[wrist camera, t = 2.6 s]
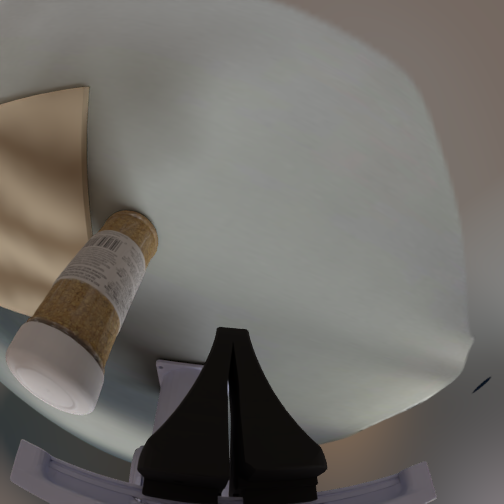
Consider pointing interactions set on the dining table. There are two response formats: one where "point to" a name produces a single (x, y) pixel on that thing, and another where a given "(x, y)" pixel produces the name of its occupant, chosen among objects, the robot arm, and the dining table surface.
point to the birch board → (41, 193)
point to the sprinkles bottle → (83, 316)
